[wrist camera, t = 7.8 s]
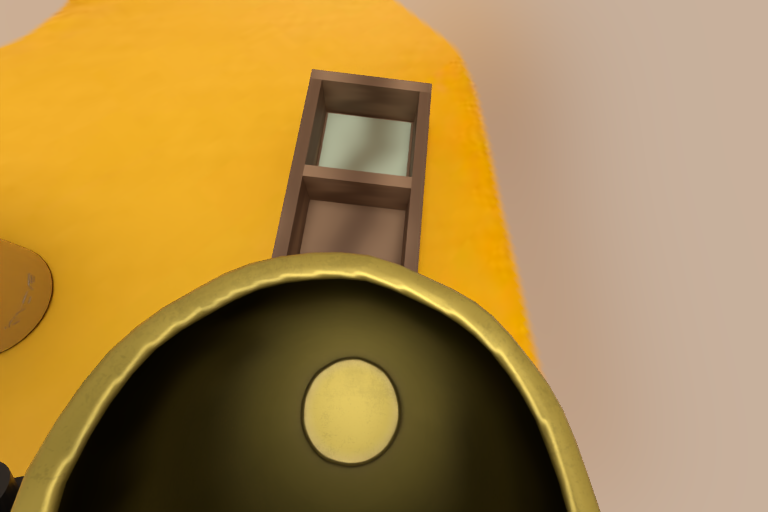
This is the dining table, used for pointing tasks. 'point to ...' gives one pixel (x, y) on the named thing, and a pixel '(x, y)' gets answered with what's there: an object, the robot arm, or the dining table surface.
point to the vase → (313, 404)
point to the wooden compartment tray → (358, 169)
